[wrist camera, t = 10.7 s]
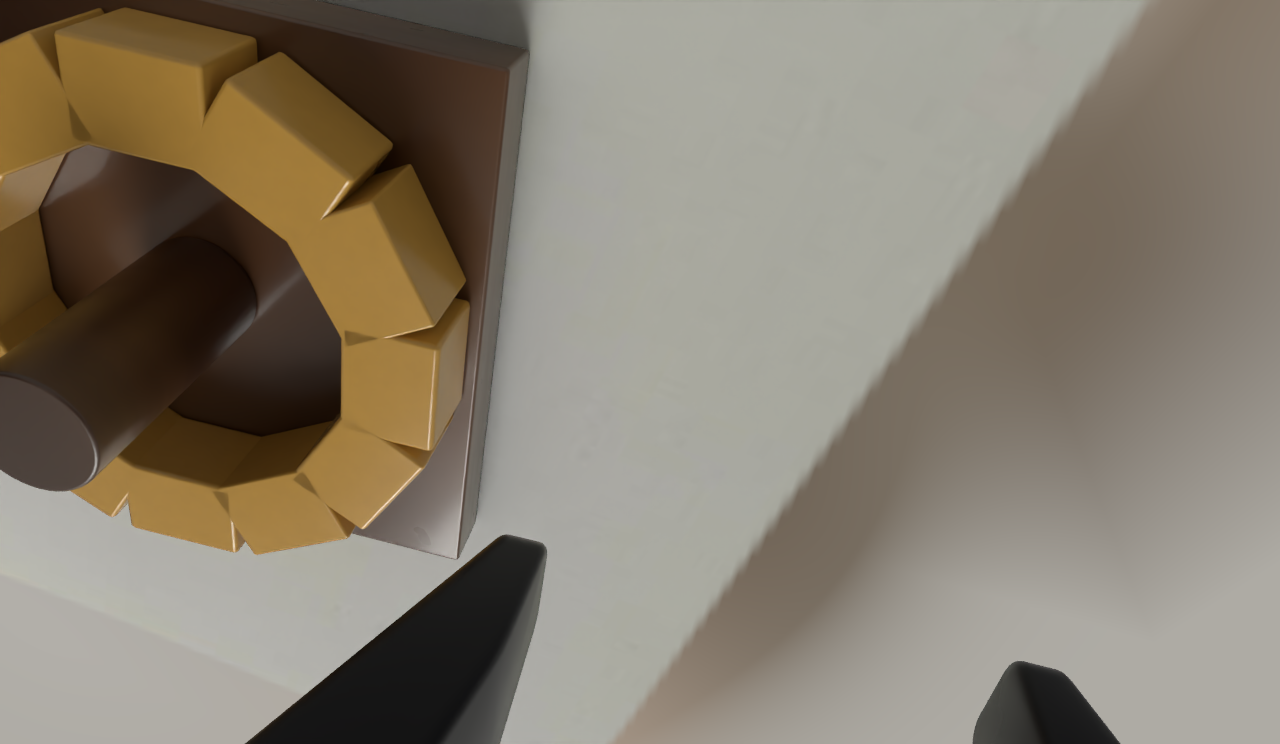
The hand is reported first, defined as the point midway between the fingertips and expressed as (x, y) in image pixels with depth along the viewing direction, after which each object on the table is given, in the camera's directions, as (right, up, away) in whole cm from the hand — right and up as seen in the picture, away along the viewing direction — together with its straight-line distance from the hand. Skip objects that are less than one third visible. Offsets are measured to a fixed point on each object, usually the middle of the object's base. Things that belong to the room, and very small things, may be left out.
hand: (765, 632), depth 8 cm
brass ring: (-9, +4, +8) cm, 12 cm away
